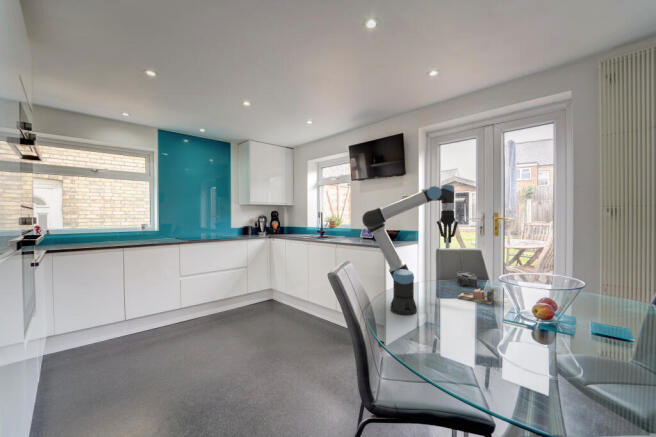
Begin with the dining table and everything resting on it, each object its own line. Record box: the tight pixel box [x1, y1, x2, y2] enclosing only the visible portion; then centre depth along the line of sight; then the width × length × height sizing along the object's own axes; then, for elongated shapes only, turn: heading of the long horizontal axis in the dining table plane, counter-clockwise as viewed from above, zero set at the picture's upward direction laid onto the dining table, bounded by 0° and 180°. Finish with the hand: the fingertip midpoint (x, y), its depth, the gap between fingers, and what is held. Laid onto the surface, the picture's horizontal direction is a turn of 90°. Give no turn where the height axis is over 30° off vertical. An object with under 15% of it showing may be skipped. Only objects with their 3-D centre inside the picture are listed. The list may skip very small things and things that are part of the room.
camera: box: [456, 271, 478, 288], centre depth 198 cm, size 16×10×10 cm, turn 23°
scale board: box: [457, 287, 495, 305], centre depth 166 cm, size 18×11×7 cm, turn 50°
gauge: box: [472, 288, 485, 299], centre depth 164 cm, size 5×7×5 cm
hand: (447, 248), depth 164 cm, fingers closed
